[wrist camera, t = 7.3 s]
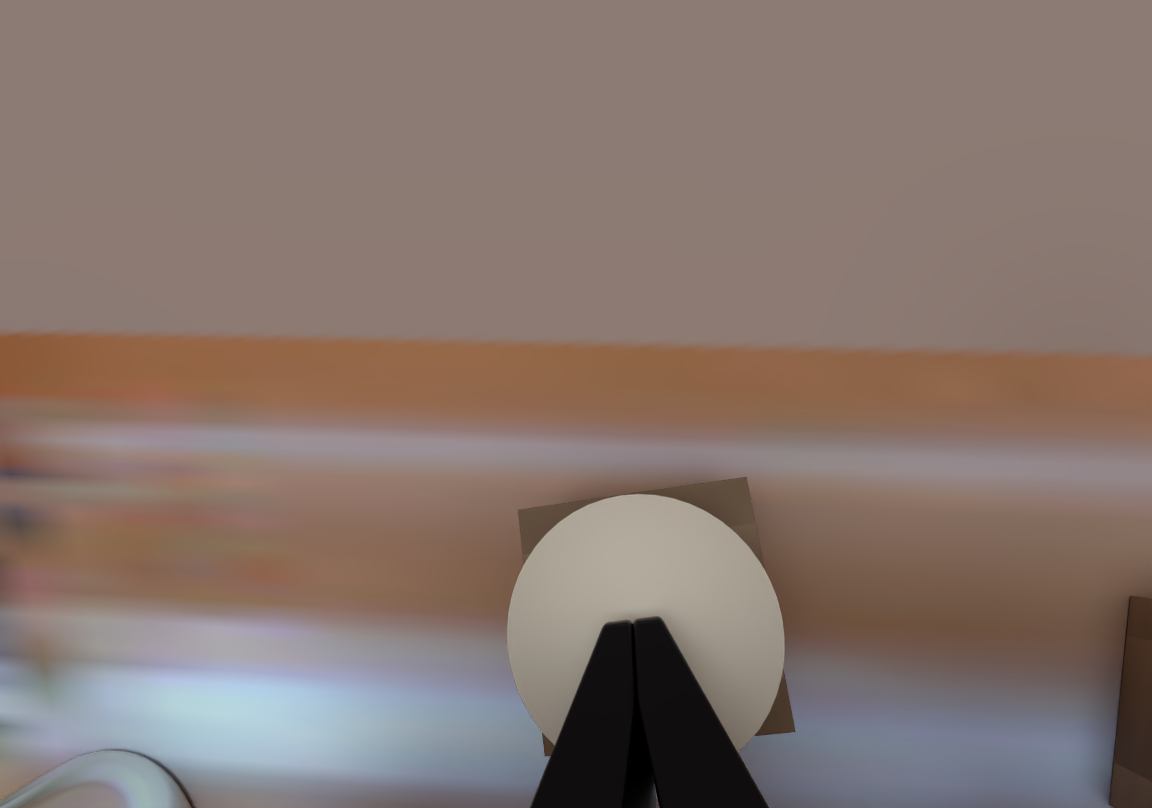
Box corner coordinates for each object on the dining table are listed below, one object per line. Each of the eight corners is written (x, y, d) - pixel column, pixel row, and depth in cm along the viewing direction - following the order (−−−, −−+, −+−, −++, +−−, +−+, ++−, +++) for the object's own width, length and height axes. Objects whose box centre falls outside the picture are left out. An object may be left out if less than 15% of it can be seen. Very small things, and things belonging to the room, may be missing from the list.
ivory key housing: (761, 678, 16) (795, 731, 11) (578, 698, 16) (545, 756, 12) (727, 492, 17) (746, 476, 12) (556, 516, 17) (518, 510, 13)
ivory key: (762, 687, 14) (812, 772, 9) (575, 706, 14) (522, 798, 9) (726, 497, 15) (754, 476, 10) (552, 521, 15) (494, 513, 10)
